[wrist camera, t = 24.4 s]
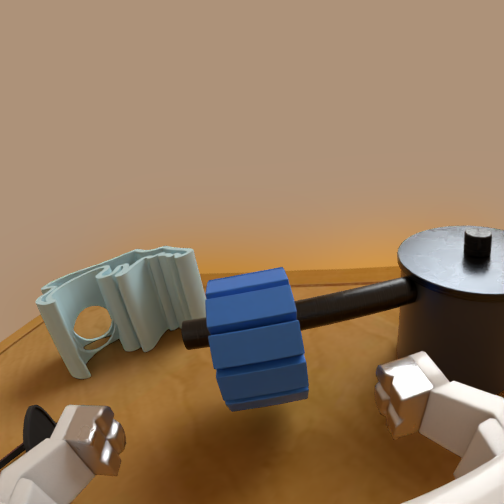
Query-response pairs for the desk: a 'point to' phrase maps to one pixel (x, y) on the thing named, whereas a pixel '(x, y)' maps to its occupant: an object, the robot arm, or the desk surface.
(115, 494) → the desk surface
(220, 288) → the gear wheel
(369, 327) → the desk surface
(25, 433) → the sunglasses
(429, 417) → the robot arm
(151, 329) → the squiggly pen holder
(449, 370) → the saucepan
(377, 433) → the desk surface
